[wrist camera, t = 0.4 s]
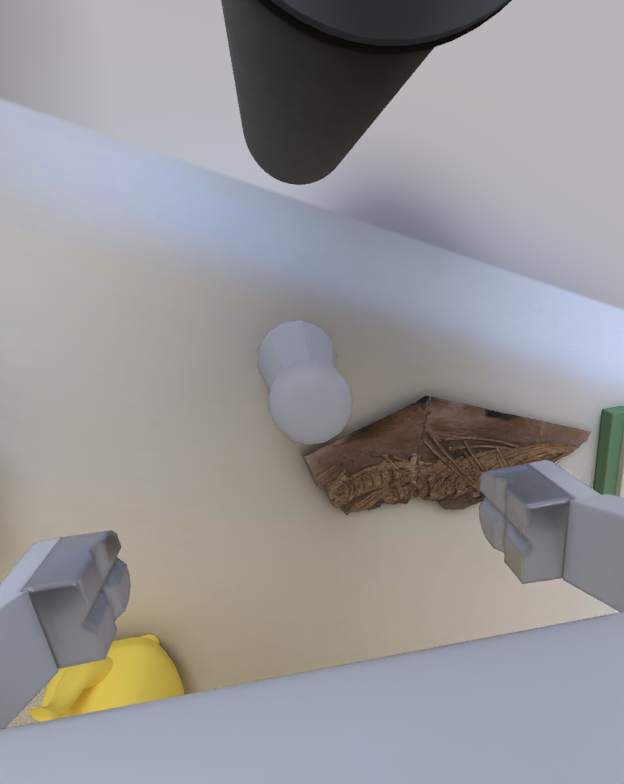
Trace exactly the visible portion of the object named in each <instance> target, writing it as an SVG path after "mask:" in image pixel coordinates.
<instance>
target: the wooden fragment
mask: <svg viewBox="0 0 624 784" xmlns="http://www.w3.org/2000/svg"><path fill="white" fill-rule="evenodd" d="M429 398H430V396H424V397H423V398H421V399H419V400H418V401H417V402H416V403H414V404H411V405H409V406H407V407H405V408H403V409H402V410H399V411H397V412H395V413H393V414H391V415H388V416H386V417H385V418H383V419H380V420H378V421H376V422H374V423H372V424H370V425H368V426H366V427H363V428H361V429H359V430H357V431H355V432H353V433H352V434H349V435H347V436H345V437H343V438H341V439H338V440H336V441H335V442H332V443H330V444H328V445H326V446H324V447H322V448H321V449H318V450H317V451H315V452H313V453H311V454H309V455H307V456H305V457H304V456H303V455H302V454H301V455H302V457H303V458H304V460H305V462H306V464H307V467H308V468H309V470H310V473H311V475H312V478H313V480H314V482H315V484H316V485H317V486H318V487H320V488H321V489H323V490H324V491H325V492H326V493H327V495H328V497H329V499H330V502H331V504H332V505H333V506H334V507H336V508H339V507H340V508H341V509H342V510H343V511H344V513H345V514H346V515H348V514H349V513H350V512H359V511H362V510H370V509H374V508H378V507H380V506H381V505H382V503H386V504H389V503H390V504H392V505H394V504H398V503H404V504H407V503H408V501H409V500H410V499H411V497H412V496H413V497H420V498H421V499H424V500H431V501H433V500H436V501H437V502H438V503H439V504H440V505H441V506H442V508H444V509H452V510H453V509H462V510H463V509H465V508H466V507H469V506H470V505H473V504H477V503H478V502H482V501H483V500H484V498H485V497H486V496H485V495H484V494H483V493H482V492H481V490H480V489H479V480H480V476H481V473H482V472H486V471H491V470H496V469H501V468H507V467H512V466H517V465H523V464H528V463H533V462H538V461H543V460H548V461H552V462H553V463H554V462H555V461H557V460H558V459H559V458H561V457H563V456H566V455H568V454H570V453H571V452H573V451H574V450H575V449H577V448H578V447H579V446H580V445H581V444H582V443H584V442H585V441H587V439H588V437H589V436H590V434H591V432H588V431H584V430H579V429H575V428H570V427H565V426H561V425H556V424H551V423H547V422H542V421H538V420H534V419H529V418H524V417H520V416H515V415H510V414H503V413H500V412H495V411H491V410H487V409H483V408H479V407H474V406H470V405H466V404H458V403H454V402H453V403H452V402H451V401H447V400H443V399H438V398H434V397H431V399H432V400H431V403H430V406H429V405H428V401H429Z"/></svg>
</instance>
